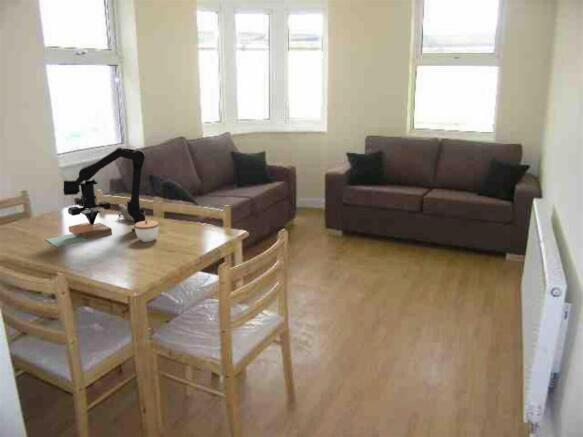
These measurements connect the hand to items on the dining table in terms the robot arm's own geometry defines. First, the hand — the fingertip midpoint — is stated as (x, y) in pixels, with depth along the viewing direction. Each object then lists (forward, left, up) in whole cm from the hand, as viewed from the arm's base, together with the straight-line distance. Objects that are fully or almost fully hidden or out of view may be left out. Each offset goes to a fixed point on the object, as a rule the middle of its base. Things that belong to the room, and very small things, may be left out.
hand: (91, 225), depth 259 cm
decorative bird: (+11, -24, -5) cm, 27 cm away
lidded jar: (-26, -15, -5) cm, 31 cm away
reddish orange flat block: (0, +5, -1) cm, 6 cm away
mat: (0, +13, -4) cm, 13 cm away
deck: (0, -1, -4) cm, 4 cm away
